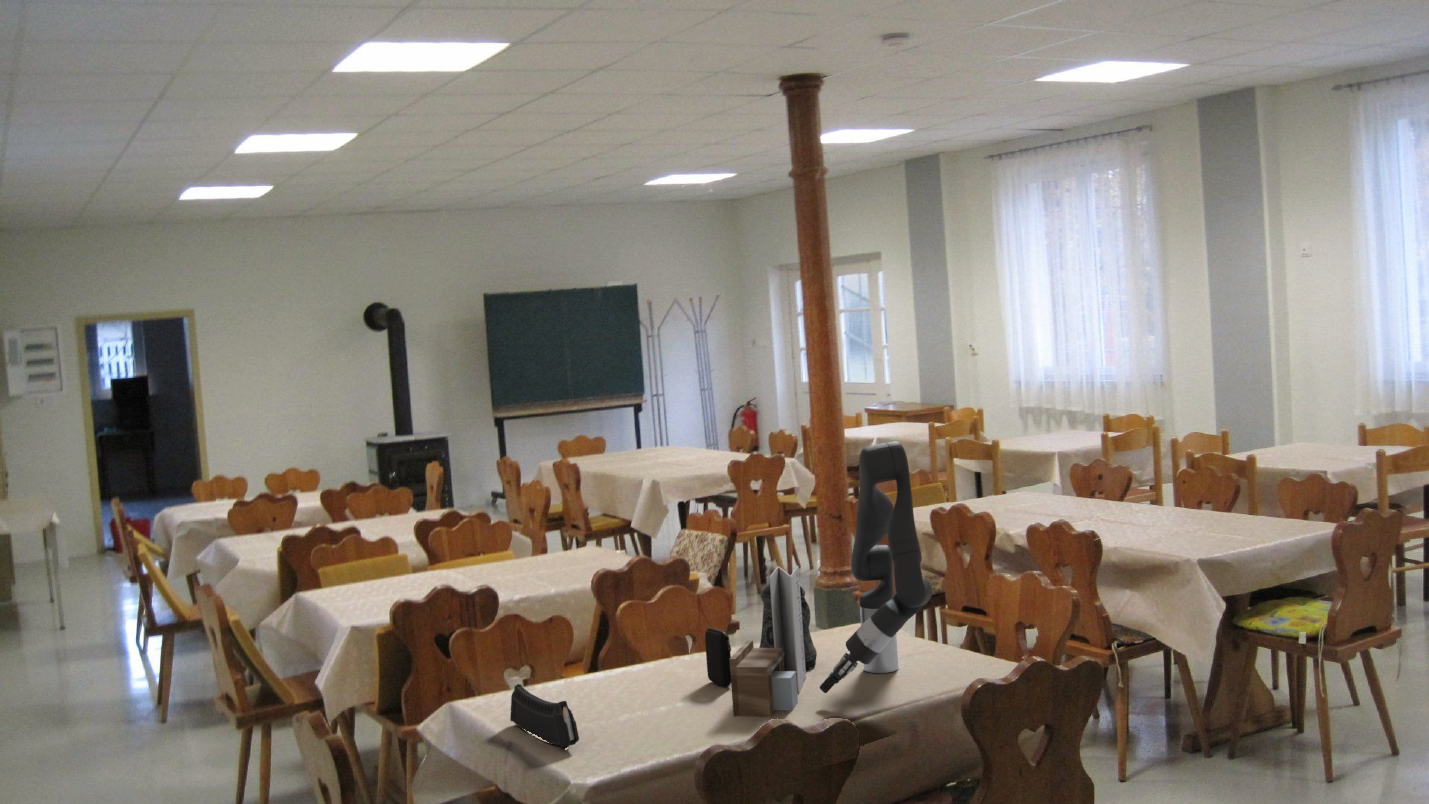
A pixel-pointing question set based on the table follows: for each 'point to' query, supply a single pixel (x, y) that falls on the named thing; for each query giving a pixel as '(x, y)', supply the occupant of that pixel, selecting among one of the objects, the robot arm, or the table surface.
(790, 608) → the brochure
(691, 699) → the table surface
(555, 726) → the magazine
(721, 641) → the carrying case or bag
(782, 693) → the grey block
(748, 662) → the cubby
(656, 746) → the table surface
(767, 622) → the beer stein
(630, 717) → the table surface
